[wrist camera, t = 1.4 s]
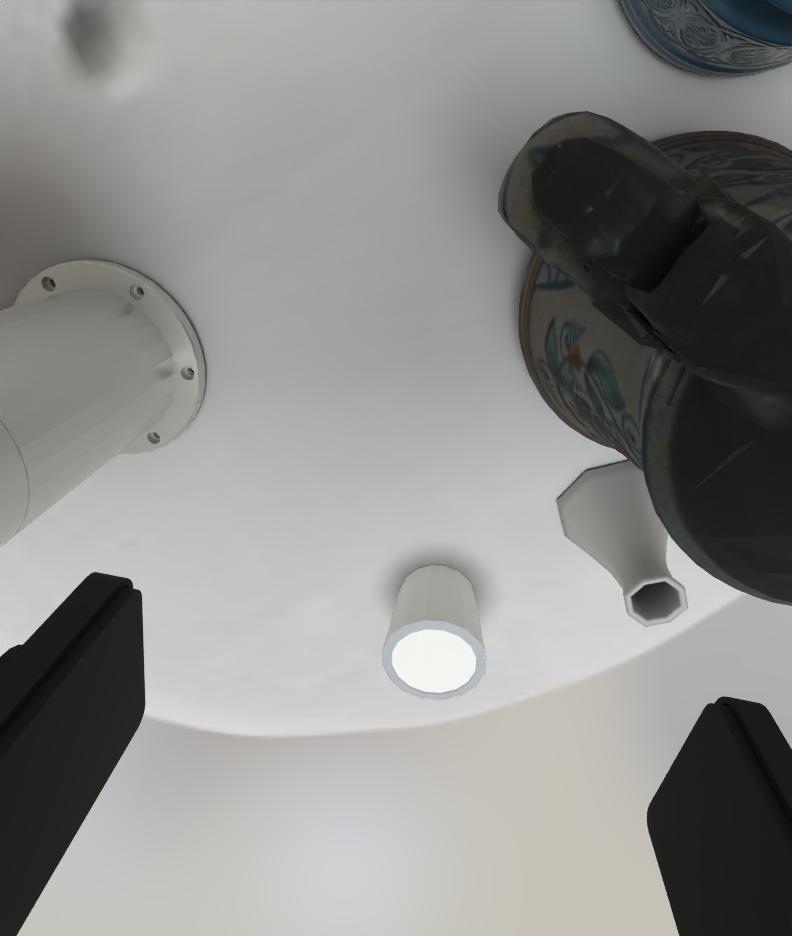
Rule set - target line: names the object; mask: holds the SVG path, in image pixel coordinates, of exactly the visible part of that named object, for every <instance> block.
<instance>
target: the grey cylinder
mask: <svg viewBox="0 0 792 936" xmlns="http://www.w3.org/2000/svg"><path fill="white" fill-rule="evenodd" d="M382 665H383V667H384V669H385V671H386V673H387V675H388V677H389V679H390V680H391V681H392V682H393V683H394V684H396V685H397V686H398V687H399V688H400V689H402V690H403V691H404V692H407V693H409V694H412V695H415V696H417V697H420V698H424V699H436V700H444V699H448V698H453V697H458V696H461V695H463V694H464V693H466V692H468V691H469V690H471V689H473V688H474V687H476V685H477V684H478V683H479V681H480V680H481V678H482V677H483V675H484V674H485V667H486V652H485V647H484V642H483V637H482V631H481V626H480V621H479V615H478V610H477V605H476V600H475V594H474V591H473V588H472V586H471V584H470V581H469V580H468V579H467V578H466V577H465V576H464V575H463V574H462V573H461V572H459V571H457V570H455V569H452V568H450V567H447V566H440V565H429V566H425V567H422V568H418V569H416V570H415V571H413V572H412V573H411V574H409V575H408V576H407V577H406V578H405V580H404V582H403V584H402V586H401V588H400V591H399V595H398V598H397V602H396V605H395V609H394V612H393V615H392V619H391V622H390V626H389V629H388V633H387V636H386V639H385V643H384V646H383V650H382Z"/></svg>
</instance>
